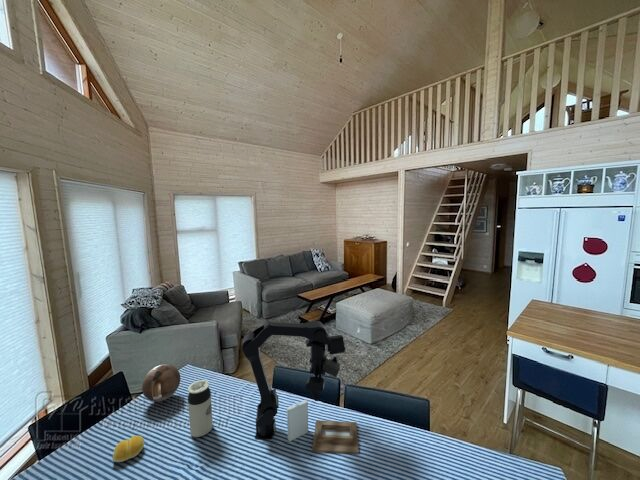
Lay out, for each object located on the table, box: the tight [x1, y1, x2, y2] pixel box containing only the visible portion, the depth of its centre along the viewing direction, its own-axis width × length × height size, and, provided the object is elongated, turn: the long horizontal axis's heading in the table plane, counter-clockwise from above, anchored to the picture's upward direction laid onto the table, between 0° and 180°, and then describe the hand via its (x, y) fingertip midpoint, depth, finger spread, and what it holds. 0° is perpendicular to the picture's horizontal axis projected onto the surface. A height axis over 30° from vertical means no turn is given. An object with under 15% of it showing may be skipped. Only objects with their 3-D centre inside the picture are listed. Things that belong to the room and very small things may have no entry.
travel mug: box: [187, 379, 214, 438], centre depth 101 cm, size 8×8×18 cm
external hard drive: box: [286, 399, 309, 442], centre depth 98 cm, size 2×8×12 cm, turn 121°
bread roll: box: [112, 435, 145, 463], centre depth 92 cm, size 8×9×4 cm
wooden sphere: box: [141, 363, 181, 402], centre depth 120 cm, size 15×15×15 cm
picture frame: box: [311, 419, 359, 455], centre depth 97 cm, size 16×13×3 cm
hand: (318, 392), depth 103 cm, fingers open, 9 cm apart
